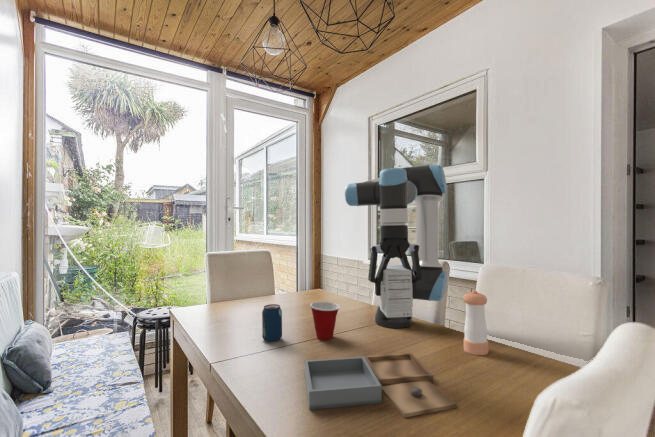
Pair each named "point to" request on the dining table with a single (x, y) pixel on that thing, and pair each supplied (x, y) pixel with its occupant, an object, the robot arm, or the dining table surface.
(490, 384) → the dining table surface
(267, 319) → the soda can
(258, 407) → the dining table surface
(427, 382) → the tray lid
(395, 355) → the walnut tray
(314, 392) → the gray square tray
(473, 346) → the pepper shaker
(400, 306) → the supplement box
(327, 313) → the plastic cup
